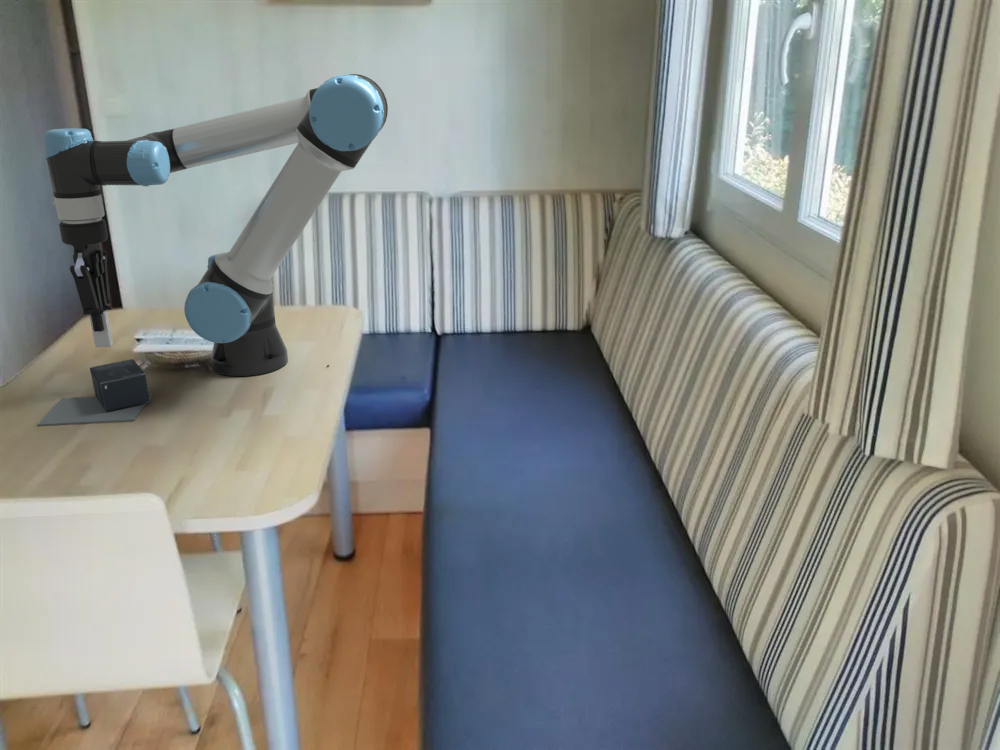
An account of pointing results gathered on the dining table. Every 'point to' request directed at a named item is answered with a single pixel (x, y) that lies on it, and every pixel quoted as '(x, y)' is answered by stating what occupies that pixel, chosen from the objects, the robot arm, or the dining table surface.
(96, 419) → the mat
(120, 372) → the box
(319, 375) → the dining table surface
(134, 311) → the dining table surface
